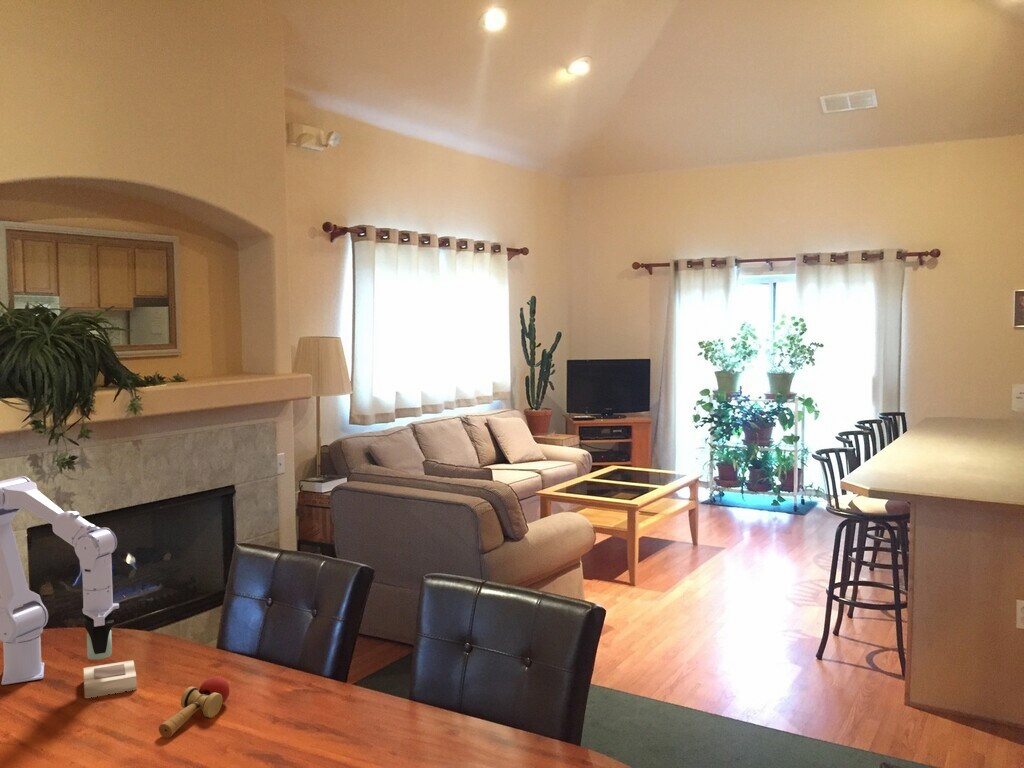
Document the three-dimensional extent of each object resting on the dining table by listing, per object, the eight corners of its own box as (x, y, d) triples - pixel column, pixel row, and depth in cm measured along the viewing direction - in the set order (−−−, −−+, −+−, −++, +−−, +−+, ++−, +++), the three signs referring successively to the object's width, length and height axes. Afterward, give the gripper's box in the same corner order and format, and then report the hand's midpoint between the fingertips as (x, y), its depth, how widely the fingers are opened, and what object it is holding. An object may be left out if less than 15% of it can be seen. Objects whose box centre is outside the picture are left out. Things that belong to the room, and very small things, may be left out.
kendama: (187, 748, 165) (242, 696, 182) (178, 717, 164) (234, 668, 181) (154, 748, 168) (211, 698, 185) (145, 718, 167) (204, 670, 184)
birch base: (84, 681, 192) (83, 667, 192) (133, 673, 197) (133, 659, 196) (84, 698, 183) (84, 683, 183) (136, 689, 188) (136, 675, 187)
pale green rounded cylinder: (87, 653, 190) (86, 630, 189) (111, 649, 192) (110, 627, 191) (87, 661, 185) (86, 637, 185) (112, 657, 187) (111, 634, 187)
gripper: (119, 593, 183) (121, 657, 184) (116, 575, 196) (118, 635, 197) (81, 598, 180) (84, 662, 181) (81, 579, 193) (83, 640, 193)
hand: (99, 648), depth 188 cm, fingers closed on pale green rounded cylinder, 5 cm apart
